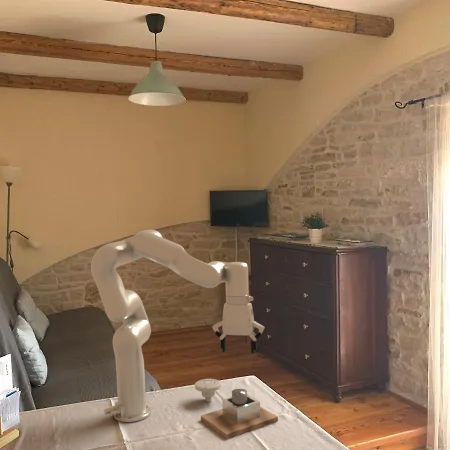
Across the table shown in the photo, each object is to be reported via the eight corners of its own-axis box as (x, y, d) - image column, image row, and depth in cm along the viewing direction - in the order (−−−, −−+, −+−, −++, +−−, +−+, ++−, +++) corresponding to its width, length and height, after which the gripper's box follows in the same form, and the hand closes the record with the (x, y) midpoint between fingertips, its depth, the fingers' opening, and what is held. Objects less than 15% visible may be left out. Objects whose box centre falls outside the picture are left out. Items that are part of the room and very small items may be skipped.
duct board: (226, 439, 148) (225, 418, 148) (200, 419, 162) (200, 400, 161) (277, 421, 159) (277, 401, 159) (249, 404, 172) (249, 386, 172)
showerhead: (192, 386, 172) (197, 376, 182) (193, 406, 173) (197, 394, 183) (218, 386, 171) (221, 376, 181) (219, 406, 172) (222, 395, 182)
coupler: (246, 419, 158) (245, 395, 158) (231, 418, 159) (230, 394, 159) (248, 412, 163) (247, 389, 162) (234, 411, 164) (233, 388, 164)
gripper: (265, 298, 161) (266, 348, 162) (214, 297, 164) (216, 346, 165) (261, 302, 153) (263, 356, 154) (209, 302, 157) (210, 353, 158)
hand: (238, 351), depth 160 cm, fingers open, 9 cm apart
